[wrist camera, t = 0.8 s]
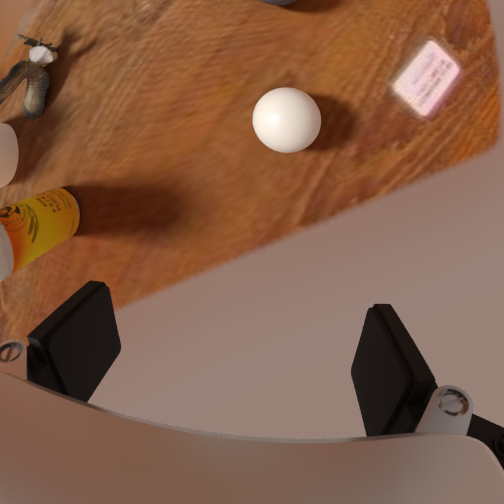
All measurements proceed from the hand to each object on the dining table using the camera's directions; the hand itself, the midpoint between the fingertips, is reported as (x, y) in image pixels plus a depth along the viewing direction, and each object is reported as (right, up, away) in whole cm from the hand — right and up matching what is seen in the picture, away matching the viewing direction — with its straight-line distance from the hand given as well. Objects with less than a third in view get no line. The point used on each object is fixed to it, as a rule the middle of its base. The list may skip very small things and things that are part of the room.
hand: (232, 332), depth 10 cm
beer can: (-21, +8, +20) cm, 30 cm away
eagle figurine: (-25, +24, +14) cm, 37 cm away
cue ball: (+3, +13, +12) cm, 18 cm away
